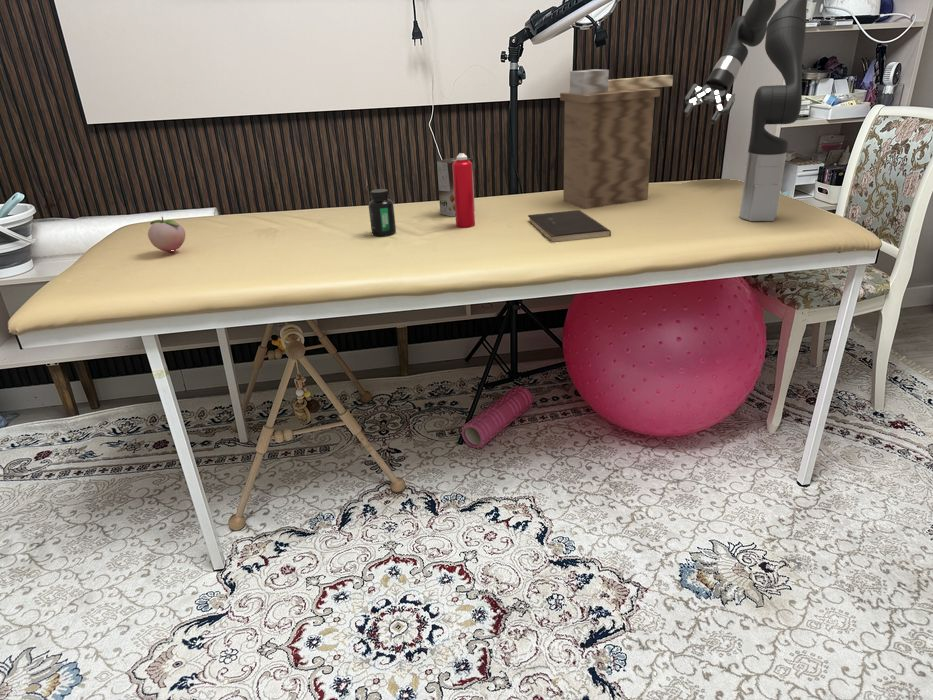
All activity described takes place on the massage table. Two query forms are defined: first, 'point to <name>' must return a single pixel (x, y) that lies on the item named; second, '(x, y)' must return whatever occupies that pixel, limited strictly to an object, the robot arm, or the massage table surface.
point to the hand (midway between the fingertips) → (699, 119)
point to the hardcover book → (568, 226)
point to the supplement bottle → (381, 213)
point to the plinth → (607, 146)
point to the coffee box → (447, 186)
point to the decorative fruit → (166, 235)
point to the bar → (612, 82)
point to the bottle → (463, 192)
